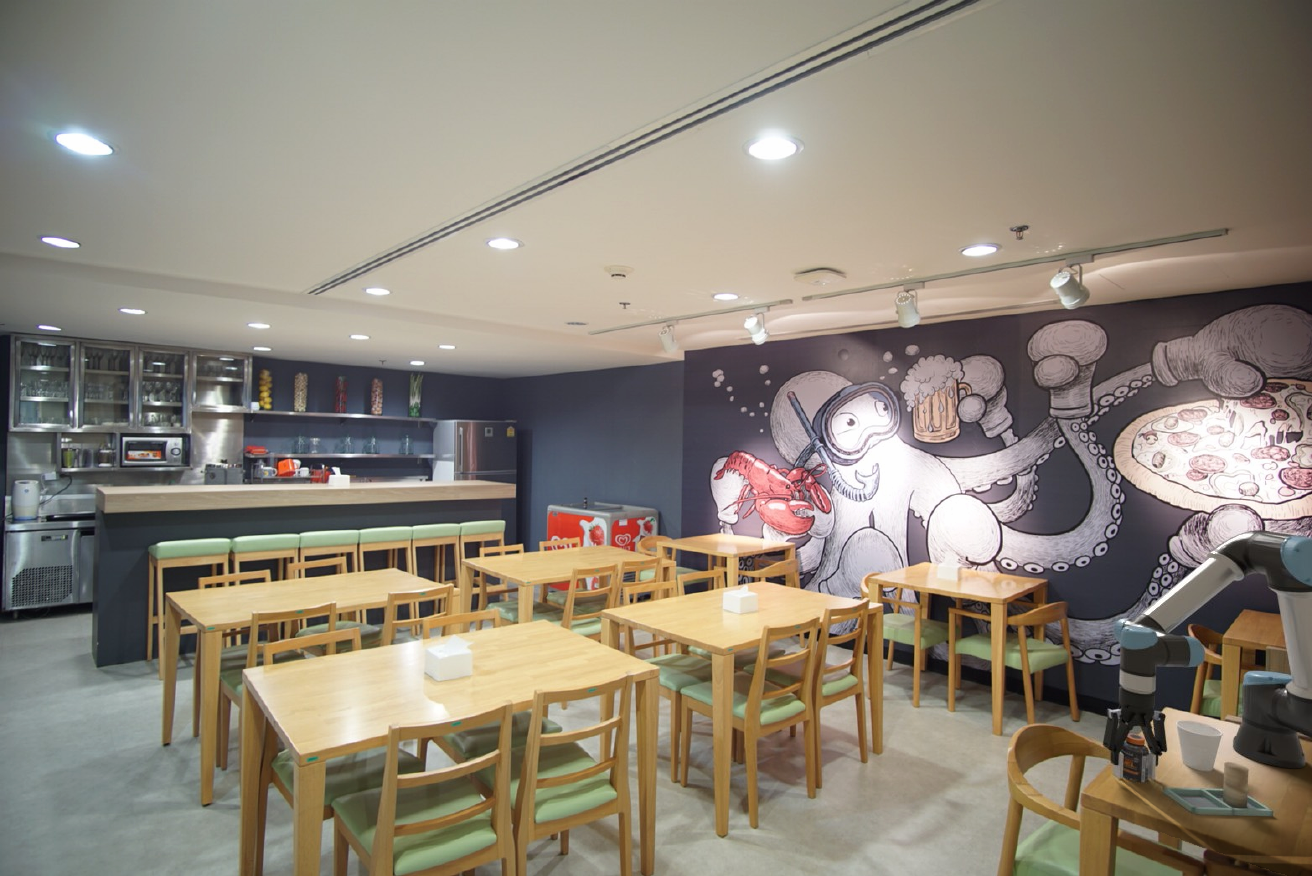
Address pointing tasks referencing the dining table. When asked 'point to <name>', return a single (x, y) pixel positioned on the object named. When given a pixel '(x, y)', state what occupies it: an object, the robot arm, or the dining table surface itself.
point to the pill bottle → (1135, 758)
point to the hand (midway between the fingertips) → (1133, 777)
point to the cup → (1198, 744)
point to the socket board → (1213, 802)
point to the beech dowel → (1235, 785)
